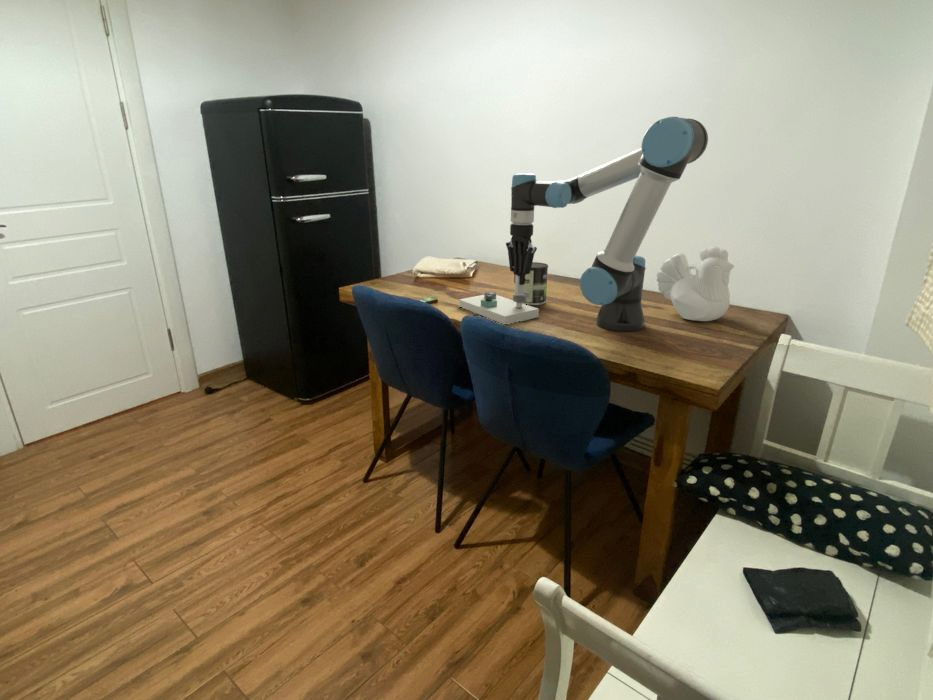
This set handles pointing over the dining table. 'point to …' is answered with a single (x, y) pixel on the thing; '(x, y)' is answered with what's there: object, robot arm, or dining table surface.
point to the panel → (500, 309)
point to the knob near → (519, 300)
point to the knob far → (490, 294)
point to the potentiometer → (488, 302)
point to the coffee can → (536, 284)
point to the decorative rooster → (697, 284)
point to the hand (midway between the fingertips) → (519, 293)
